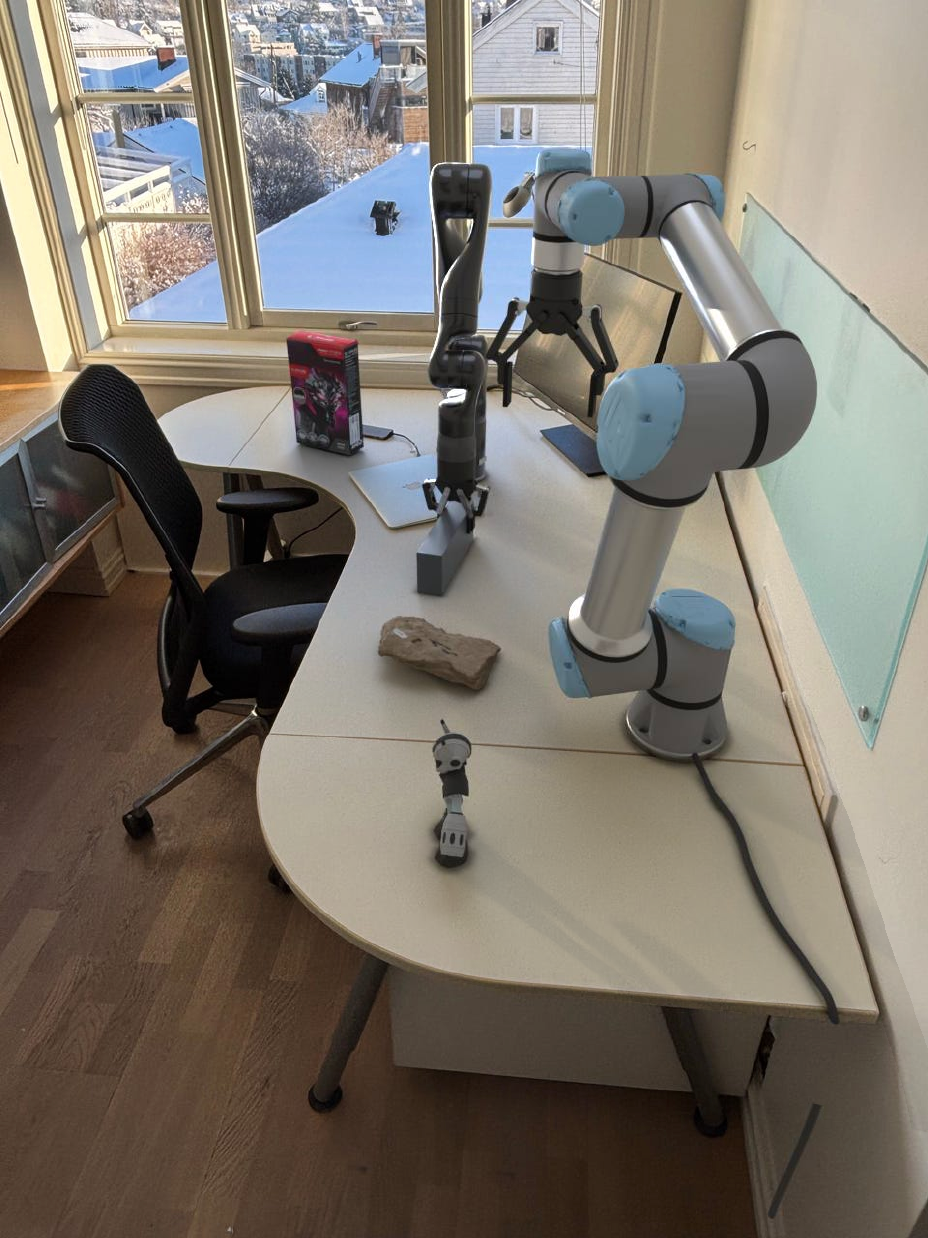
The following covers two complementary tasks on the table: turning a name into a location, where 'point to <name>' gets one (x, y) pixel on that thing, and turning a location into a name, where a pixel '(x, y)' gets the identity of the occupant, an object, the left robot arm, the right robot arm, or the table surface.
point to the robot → (452, 796)
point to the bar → (443, 550)
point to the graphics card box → (326, 391)
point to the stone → (438, 651)
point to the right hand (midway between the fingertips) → (548, 409)
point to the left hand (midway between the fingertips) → (456, 529)
